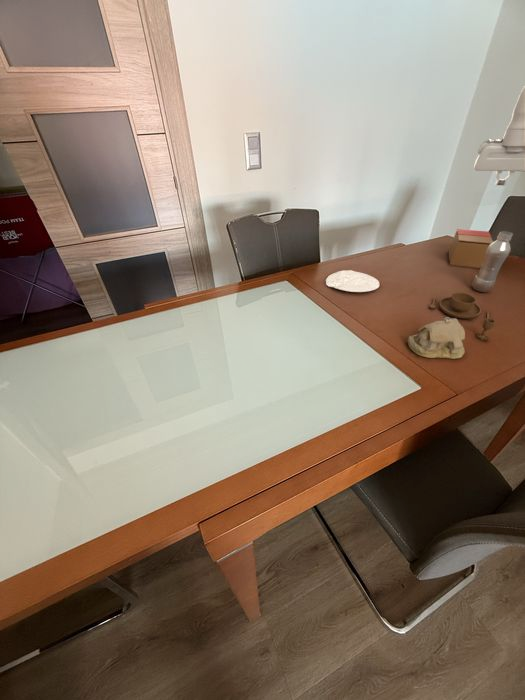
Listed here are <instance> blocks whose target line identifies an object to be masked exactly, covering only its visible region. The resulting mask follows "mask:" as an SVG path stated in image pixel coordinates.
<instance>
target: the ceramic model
mask: <svg viewBox="0 0 525 700" xmlns="http://www.w3.org/2000/svg"><path fill="white" fill-rule="evenodd" d="M418 332H419V333H417V334H414V335H413V334H412V335H409V336H408V338H407V345H408V347H409V349H410V350H411V351H412V352H414V353H415V354H417V355H418V356H420V357H424V358H429V359H435V358H441V359H461V358H462V357H463V356H464V354H465V353H466V351H465V348H464V344H463V341H464V340H465V339H466V333H465V332H466V331H465V328H464V327H463V325H461V323H460V322H459V320H458V318H455V317H452V318H451V317H450V316H446V317H444V318H443V320H434V321H433V322H430V323H428V324H425V325H422V326H420V328H419V329H418Z"/></svg>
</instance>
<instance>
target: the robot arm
mask: <svg viewBox="0 0 525 700" xmlns="http://www.w3.org/2000/svg"><path fill="white" fill-rule="evenodd" d="M477 151H478V152H477V153H478V156H477V157H476V159H475V161H474V165H473V169H474V170H475V171H480V172H481V171H483V172H495V177H496V178H495V179H496V181H495V183H494V186H506V185H507V182H508V181H509V179H511V178H512V177H513V176H514V174H515V173H516V172H525V85H524V86H523V87H522V89H521V91H520V93H519V96H518V98H517V100H516V103H515V105H514V107H513V110H512V115H511V120H510V122H509V124H508V125H507V127H506V129H505V132H504V135H503V137H502V138H496V139H490V138H489V139H487V140H484V141H483V142H481V143H480V145H479V147H478V150H477ZM503 172H507V174H508V175H507V176H506V177H505V178H500V175H502V173H503Z"/></svg>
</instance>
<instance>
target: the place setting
mask: <svg viewBox="0 0 525 700" xmlns="http://www.w3.org/2000/svg"><path fill="white" fill-rule="evenodd" d="M435 302H436V298H435V297H434V298H433V299H432V303H431V304H429V306H428V307H429V308H430V309H436V307H437V306H436V304H435ZM476 302H477V299H476V297H475V296H473V295H471V294H470V293H466V292H453V293H452V294H451V296H448V297H444V298H441V300H439V302H438V306H439V309H440V311H441V312H443V313H444V314H446V315H448V317H452V318H456V319H461V320H463V319H464V320H470V319H475V318H477V317H478V316H480V314H481V312H482V308H481V306H480V305H479V304H477V303H476ZM486 312H487V313H486V318H484V321H483V323H482V329H483V330H482V331H481V333H477V334H476V335H475V337H476V339H478V340H480V341H486V340H488V336H487V332H488V331H489V330H490V331H491V330H492V329H493V327H494V326H495V324H496V320H495V319H494V318H491V317H490V311H489V310H487V311H486Z"/></svg>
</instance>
